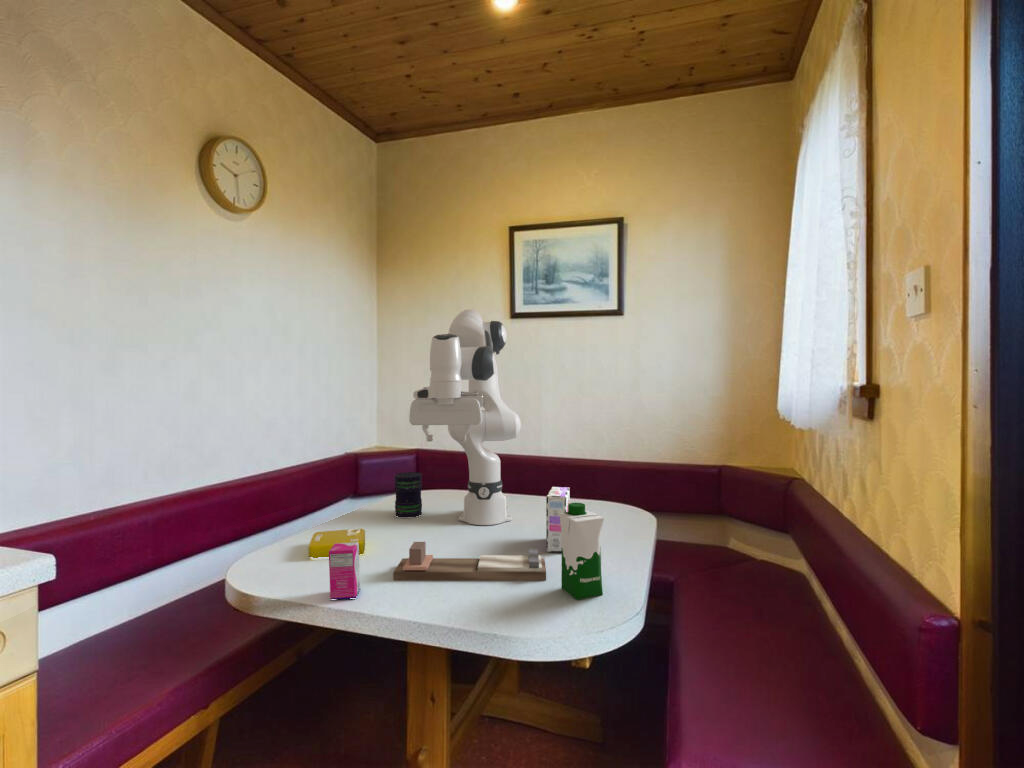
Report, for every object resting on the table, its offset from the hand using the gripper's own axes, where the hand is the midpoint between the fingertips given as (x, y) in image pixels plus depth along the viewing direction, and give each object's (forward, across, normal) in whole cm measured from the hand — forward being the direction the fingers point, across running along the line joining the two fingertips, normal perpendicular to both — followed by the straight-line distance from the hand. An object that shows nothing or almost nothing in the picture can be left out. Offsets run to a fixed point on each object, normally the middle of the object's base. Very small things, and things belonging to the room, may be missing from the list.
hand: (446, 441), depth 146 cm
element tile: (+33, +33, -6) cm, 47 cm away
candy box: (+33, -32, -10) cm, 47 cm away
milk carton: (+32, -35, +24) cm, 54 cm away
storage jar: (+33, +21, -46) cm, 60 cm away
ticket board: (+32, -8, +12) cm, 36 cm away
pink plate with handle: (+30, +6, +12) cm, 33 cm away
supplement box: (+33, +20, +26) cm, 46 cm away
